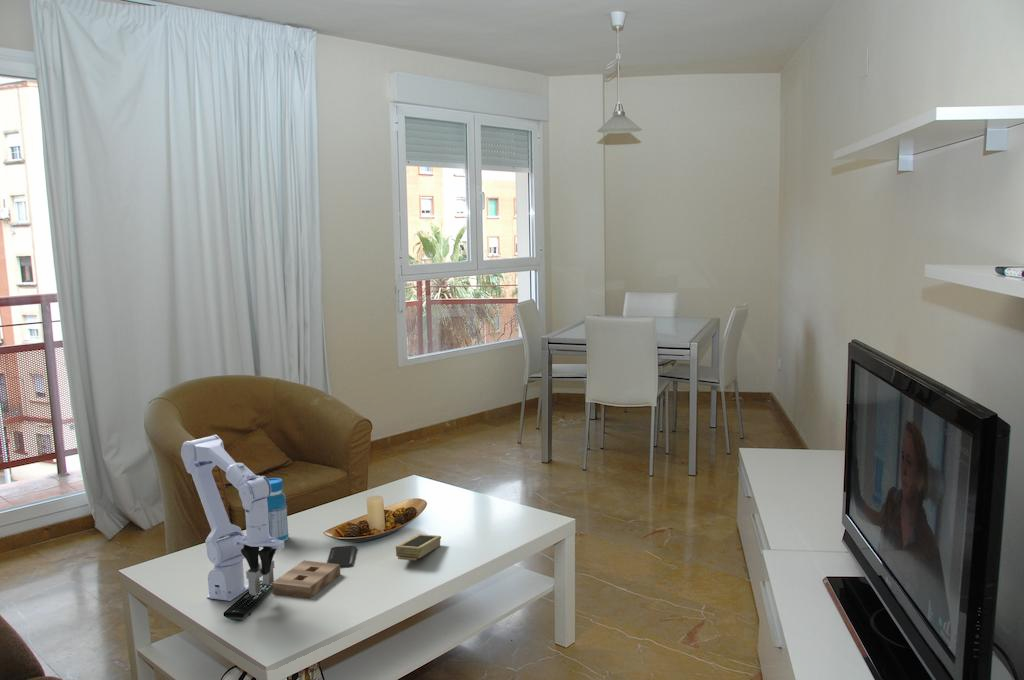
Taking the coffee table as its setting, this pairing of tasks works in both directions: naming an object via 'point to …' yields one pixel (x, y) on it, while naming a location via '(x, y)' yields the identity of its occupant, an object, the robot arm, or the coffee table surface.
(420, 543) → the box
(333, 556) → the phone
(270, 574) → the metal staple
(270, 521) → the beverage bottle
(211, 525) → the robot arm
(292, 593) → the wooden board with holes
